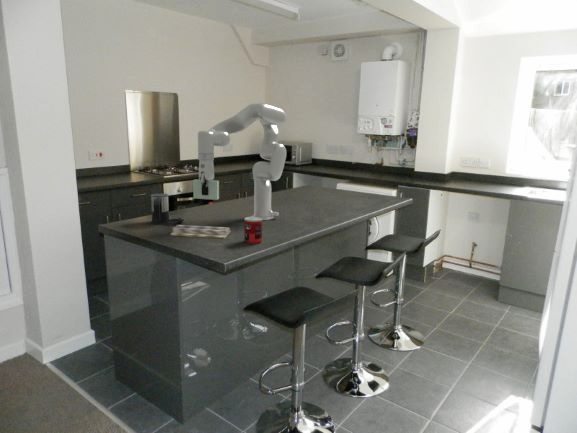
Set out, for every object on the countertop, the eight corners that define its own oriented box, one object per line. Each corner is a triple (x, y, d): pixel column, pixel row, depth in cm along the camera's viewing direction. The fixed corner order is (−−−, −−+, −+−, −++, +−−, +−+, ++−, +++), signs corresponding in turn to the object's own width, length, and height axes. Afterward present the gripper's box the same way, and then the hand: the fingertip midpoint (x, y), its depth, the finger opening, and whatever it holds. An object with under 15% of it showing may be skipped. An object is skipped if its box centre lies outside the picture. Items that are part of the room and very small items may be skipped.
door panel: (218, 198, 208) (218, 180, 206) (217, 199, 205) (217, 181, 203) (195, 197, 209) (195, 179, 207) (193, 198, 206) (193, 180, 204)
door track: (230, 231, 206) (230, 226, 205) (224, 238, 194) (224, 232, 194) (179, 229, 208) (179, 223, 208) (170, 235, 197) (170, 229, 196)
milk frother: (150, 220, 224) (149, 193, 220) (181, 218, 230) (180, 192, 226) (153, 227, 211) (152, 198, 208) (185, 224, 217) (184, 196, 214)
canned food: (244, 239, 193) (244, 216, 191) (261, 239, 194) (261, 216, 191) (244, 244, 186) (244, 220, 183) (262, 244, 186) (262, 220, 184)
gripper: (208, 158, 194) (208, 197, 198) (218, 156, 210) (218, 192, 214) (192, 157, 195) (193, 196, 199) (203, 155, 211) (204, 191, 215)
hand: (206, 194), depth 207 cm, fingers closed on door panel, 3 cm apart
